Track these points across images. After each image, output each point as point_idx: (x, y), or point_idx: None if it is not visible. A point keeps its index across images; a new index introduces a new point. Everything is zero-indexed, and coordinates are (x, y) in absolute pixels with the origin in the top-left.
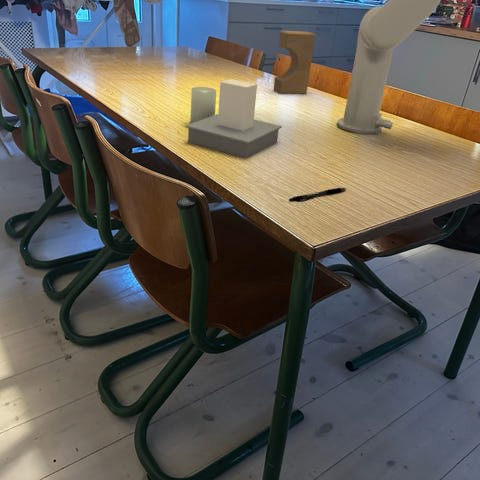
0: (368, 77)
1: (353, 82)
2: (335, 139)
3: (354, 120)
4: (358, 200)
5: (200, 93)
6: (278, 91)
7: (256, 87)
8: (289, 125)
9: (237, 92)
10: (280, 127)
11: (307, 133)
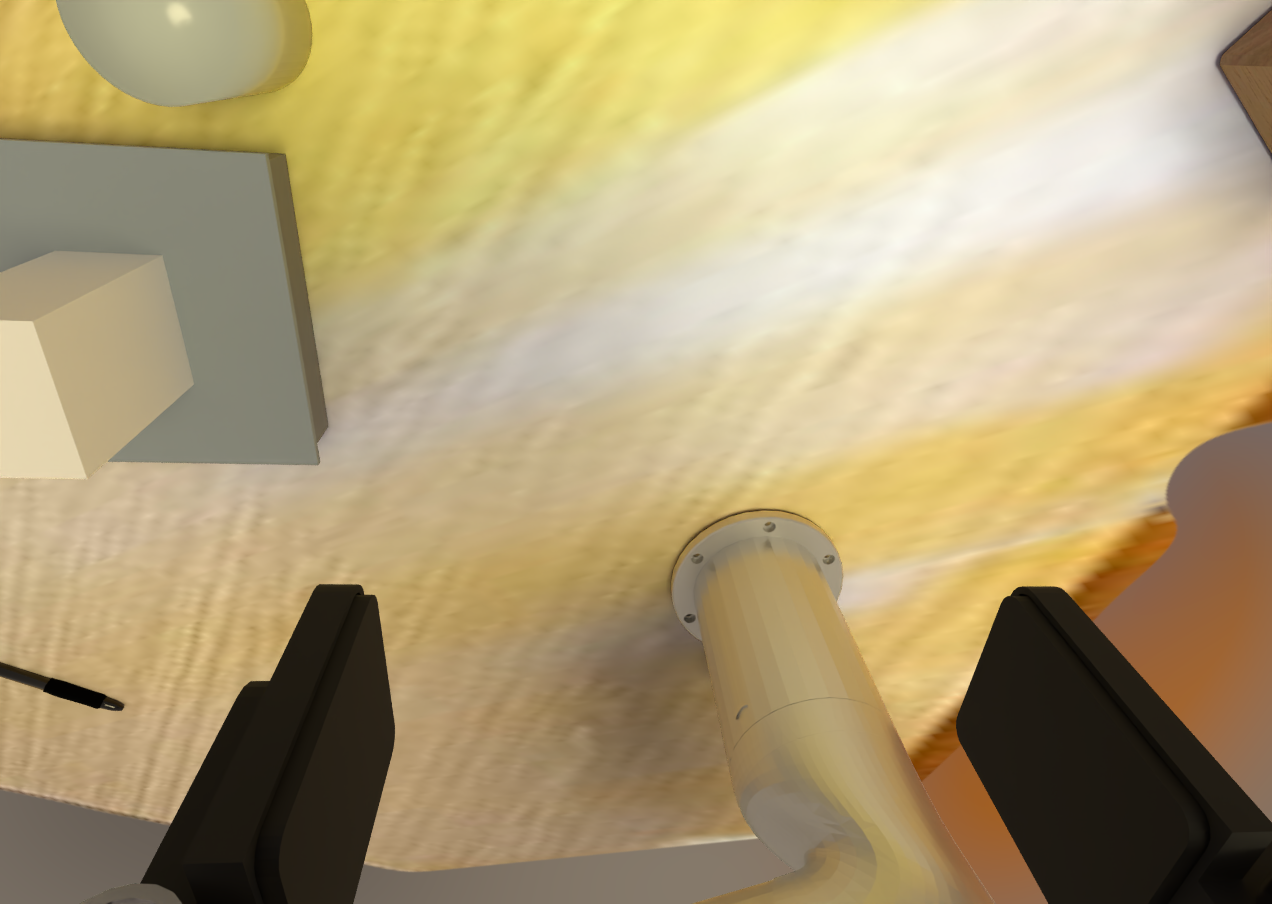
0: (727, 759)
1: (745, 679)
2: (541, 563)
3: (698, 602)
4: (99, 738)
5: (74, 38)
6: (1240, 43)
7: (92, 470)
8: (584, 374)
9: None
10: (307, 462)
11: (531, 469)
